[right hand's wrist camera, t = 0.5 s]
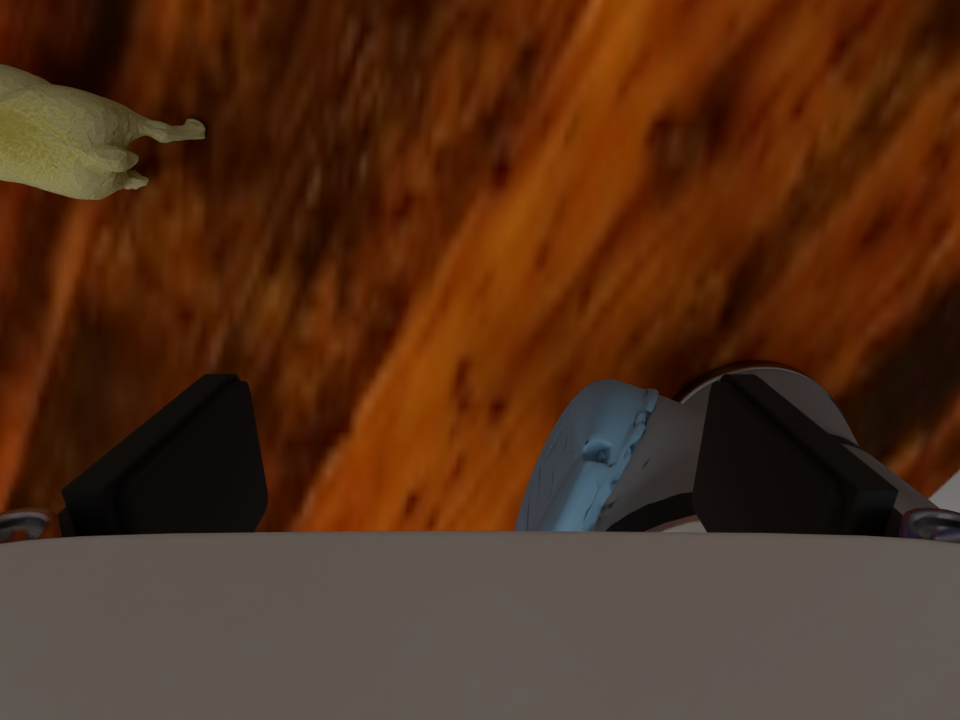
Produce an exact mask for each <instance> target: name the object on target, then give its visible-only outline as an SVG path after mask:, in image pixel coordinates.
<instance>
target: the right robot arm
mask: <svg viewBox="0 0 960 720" xmlns="http://www.w3.org/2000/svg"><path fill="white" fill-rule="evenodd" d="M61 492H62V495H63V498H64V501H65V504H66V508H64V509H63V510H62V511H61V512H60V513H59V514H57V515H56V513H55V512H53V511H51V510H48V509H46V508H23V509H15V510H10V511H6V512H2V513H0V720H960V513H958V512H954V511H950V510H945V509H937V508H914V509H912V510H909V511H907V512H905V513H904V515H903V514H901V513H900V512H899V511H898V510H897V509H896V508H894V504H895V501H896V498H897V495H898V492H899V490H898V489H897V488H895V487H894V486H893V485H892V484H890V483H889V482H888V481H887V480H885V479H884V478H883V477H882V476H880V475H879V474H878V473H877V472H876V471H874V470H873V469H872V468H871V467H869V466H868V465H867V464H866V463H864V462H863V461H862V460H861V459H859V458H858V457H857V456H856V455H855V454H853V453H852V452H851V451H850V450H848V449H847V448H846V447H845V446H843V445H842V444H841V443H840V442H838V441H837V440H836V439H835V438H834V437H832V436H831V435H830V434H829V433H827V432H826V431H825V430H824V429H822V428H821V427H820V426H819V425H817V424H816V423H815V422H814V421H813V420H811V419H810V418H809V417H808V416H806V415H805V414H804V413H803V412H801V411H800V410H799V409H798V408H796V407H795V406H794V405H793V404H792V403H790V402H789V401H788V400H787V399H785V398H784V397H783V396H782V395H780V394H779V393H778V392H777V391H775V390H774V389H773V388H772V387H771V386H769V385H768V384H767V383H766V382H764V381H763V380H762V379H761V378H759V377H758V376H757V375H755V374H725V375H723V376H722V377H721V379H720V381H715V382H713V383H712V385H711V388H710V393H709V399H708V405H707V411H706V416H705V422H704V428H703V434H702V440H701V445H700V451H699V457H698V463H697V469H696V474H695V480H694V486H693V492H692V504H693V508H694V511H695V513H696V515H697V517H698V518H699V520H700V522H701V523H702V525H703V527H704V528H705V530H706V532H707V533H701V532H583V531H355V532H262V533H253V532H254V530H255V528H256V527H257V525H258V523H259V522H260V520H261V518H262V517H263V515H264V513H265V511H266V508H267V504H268V492H267V486H266V480H265V474H264V469H263V463H262V457H261V451H260V445H259V440H258V434H257V428H256V422H255V416H254V411H253V405H252V399H251V393H250V388H249V385H248V383H247V382H245V381H240V379H239V377H238V376H237V375H235V374H205V375H203V376H202V377H201V378H199V379H198V380H197V381H196V382H194V383H193V384H192V385H191V386H189V387H188V388H187V389H186V390H185V391H183V392H182V393H181V394H180V395H178V396H177V397H176V398H175V399H173V400H172V401H171V402H170V403H168V404H167V405H166V406H165V407H164V408H162V409H161V410H160V411H159V412H157V413H156V414H155V415H154V416H152V417H151V418H150V419H149V420H147V421H146V422H145V423H144V424H143V425H141V426H140V427H139V428H138V429H136V430H135V431H134V432H133V433H131V434H130V435H129V436H128V437H126V438H125V439H124V440H123V441H122V442H120V443H119V444H118V445H117V446H115V447H114V448H113V449H112V450H110V451H109V452H108V453H107V454H105V455H104V456H103V457H102V458H101V459H99V460H98V461H97V462H96V463H94V464H93V465H92V466H91V467H89V468H88V469H87V470H86V471H84V472H83V473H82V474H81V475H80V476H78V477H77V478H76V479H75V480H73V481H72V482H71V483H70V484H68V485H67V486H66V487H65V488H63V489H62V490H61Z"/></svg>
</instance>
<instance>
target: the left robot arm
mask: <svg viewBox="0 0 960 720" xmlns="http://www.w3.org/2000/svg"><path fill="white" fill-rule="evenodd" d="M725 374H755V375H757V376H758V377H759V378H761V379H762V380H763V381H764V382H766V383H767V384H768V385H769V386H771V387H772V388H773V389H774V390H775V391H777V392H778V393H779V394H780V395H782V396H783V397H784V398H785V399H787V400H788V401H789V402H790V403H792V404H793V405H794V406H795V407H796V408H798V409H799V410H800V411H801V412H803V413H804V414H805V415H806V416H808V417H809V418H810V419H811V420H813V421H814V422H815V423H816V424H817V425H819V426H820V427H821V428H822V429H824V430H825V431H826V432H827V433H829V434H830V435H831V436H832V437H834V438H835V439H836V440H837V441H838V442H840V443H841V444H842V445H843V446H845V447H846V448H847V449H848V450H850V451H851V452H852V453H853V454H855V455H856V456H857V457H858V458H859V459H861V460H862V461H863V462H864V463H866V464H867V465H868V466H869V467H871V468H872V469H873V470H874V471H876V472H877V473H878V474H879V475H880V476H882V477H883V478H884V479H885V480H887V481H888V482H889V483H890V484H892V485H893V486H894V487H895V488H897V489H898V490H899V492H898V495H897V498H896V501H895V504H894V508H896V509H897V510H898V511H899V512H900V513H901V514H903V515H904V513H905V512H907V511H909V510H912V509H914V508H937V509H940V508H938V507H937V506H936V505H935V504H933V503H932V502H931V501H929V500H928V499H927V498H925V497H924V496H923V495H922V494H920V493H919V492H918V491H916V490H915V489H914V488H913V487H911V486H910V485H909V484H907V483H906V482H905V481H903V480H902V479H901V478H900V477H898V476H897V475H896V474H894V473H893V472H892V471H890V470H889V469H888V468H887V467H885V466H884V465H883V464H881V463H880V462H879V461H877V460H876V459H875V458H874V457H872V456H871V455H869V454H868V453H867V452H865V451H864V450H863V449H862V448H860V447H859V446H858V444H857V442H856V440H855V438H854V436H853V434H852V432H851V430H850V429H849V427H848V425H847V423H846V421H845V419H844V417H843V416H842V414H841V412H840V410H839V408H838V406H837V405H836V403H835V402H834V400H833V399H832V398H831V397H830V395H829V394H828V393H827V392H826V391H825V390H824V389H823V388H822V387H821V386H820V385H819V384H817V383H816V382H815V381H813V380H812V379H810V378H809V377H807V376H806V375H805V374H803V373H801V372H800V371H798V370H796V369H794V368H791V367H789V366H786V365H783V364H779V363H774V362H767V361H747V362H740V363H734V364H730V365H726V366H723V367H721V368H718V369H715V370H713V371H711V372H708V373H706V374H705V375H703V376H701V377H699V378H698V379H696V380H695V381H693V382H692V383H690V384H689V385H688V386H686V387H685V388H684V389H683V390H682V391H681V392H680V393H678V394H677V395H676V397H675V398H674V399H673V400H671V399H669V398H666V397H664V396H661V395H659V394H658V391H657V390H655V389H653V388H651V389H649V388H648V389H642V388H639V387H636V386H633V385H630V384H627V383H624V382H621V381H618V380H614V379H602V380H598V381H595V382H593V383H591V384H589V385H587V386H586V387H584V388H583V389H582V390H581V391H580V392H579V393H578V394H577V395H576V396H575V397H574V398H573V399H572V400H571V402H570V403H569V404H568V406H567V407H566V408H565V410H564V411H563V413H562V414H561V416H560V417H559V419H558V421H557V422H556V424H555V426H554V428H553V429H552V431H551V433H550V435H549V437H548V439H547V441H546V443H545V445H544V447H543V449H542V451H541V453H540V456H539V458H538V460H537V462H536V465H535V467H534V470H533V472H532V475H531V477H530V480H529V483H528V485H527V488H526V491H525V494H524V497H523V500H522V503H521V507H520V510H519V514H518V518H517V522H516V526H515V531H583V532H701V533H707V532H706V530H705V528H704V527H703V525H702V523H701V522H700V520H699V518H698V517H697V515H696V513H695V511H694V508H693V504H692V492H693V486H694V480H695V474H696V469H697V463H698V457H699V451H700V445H701V440H702V434H703V428H704V422H705V416H706V411H707V405H708V399H709V393H710V388H711V385H712V383H713V382H715V381H720V379H721V377H722V376H723V375H725ZM833 397H834V396H833Z"/></svg>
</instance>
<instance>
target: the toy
mask: <svg viewBox="0 0 960 720" xmlns="http://www.w3.org/2000/svg"><path fill="white" fill-rule="evenodd" d="M145 135H147V136H150V137H152V138H154V139H155V140H157V141H159V142H161V143H168V142H171V141H181V140H191V139H193V140H195V139H204V138H205V135H206V127H205V126H204V125H203V124H202V122H201V121H199V120H197V119H195V118H190V119H187V120H186V122H185V124H184V125H182V126H171V125H168V124H166V123H163V122H160V121H154V120H150V119H148V118H146V117H144V116H142V115H140V114H138V113H136V112H134V111H132V110H131V109H129V108H127V107H126V106H124V105H122V104H120V103H117V102H115V101H112V100H110V99H107V98H104V97H101V96H98V95H95V94H92V93H89V92H86V91H83V90H79V89H76V88H72V87H66V86H60V85H52V84H51V83H49V82H48V81H46V80H44V79H42V78H41V77H38V76H35V75H33V74H31V73H29V72H26V71H23V70H20V69H17V68H14V67H11V66H8V65H2V64H0V180H3V181H9V182H17V183H23V184H27V185H30V186H33V187H38V188H40V189H43V190H46V191H50V192H53V193H56V194H61V195H64V196H67V197H71V198H76V199H85V200H87V199H93V200H99V199H103V198H105V197H107V196H109V195H111V194H112V193H114V192H115V191H117V190H119V189H122V188H125V189H136V190H137V189H138V188H140V187H142V186H146V185H147V183H148V181H149V179H148V178H147V177H144V176H142V175H141V174H139V173H138V172H137V171H135V170H130V168H132V167H133V166H134V165H135V164H136V163H137V162H138V161H139V156H138V155H136V154H135V153H133V152H131V151H129V143H131V142H132V141H134V140H135V139H137V138H138V137H141V136H145Z"/></svg>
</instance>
